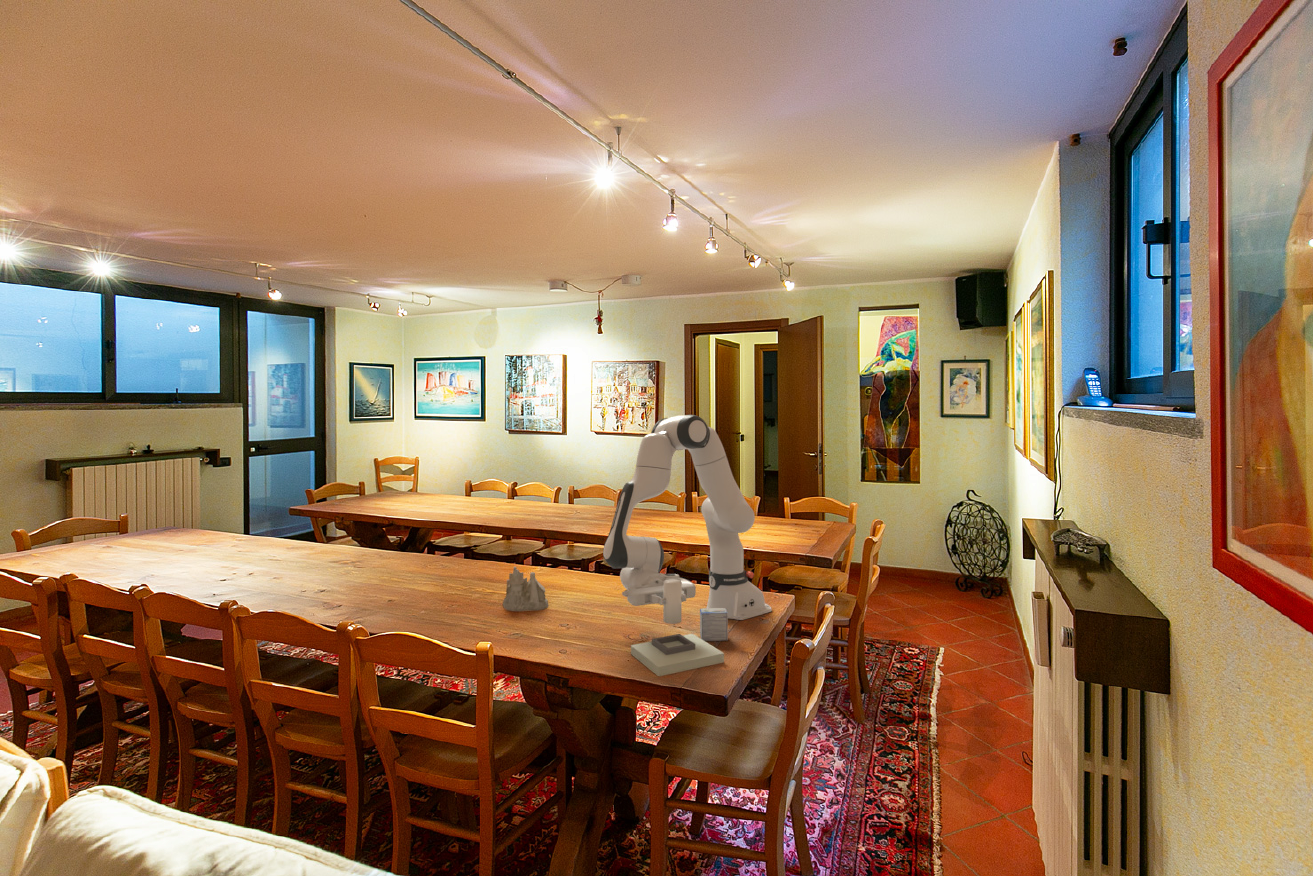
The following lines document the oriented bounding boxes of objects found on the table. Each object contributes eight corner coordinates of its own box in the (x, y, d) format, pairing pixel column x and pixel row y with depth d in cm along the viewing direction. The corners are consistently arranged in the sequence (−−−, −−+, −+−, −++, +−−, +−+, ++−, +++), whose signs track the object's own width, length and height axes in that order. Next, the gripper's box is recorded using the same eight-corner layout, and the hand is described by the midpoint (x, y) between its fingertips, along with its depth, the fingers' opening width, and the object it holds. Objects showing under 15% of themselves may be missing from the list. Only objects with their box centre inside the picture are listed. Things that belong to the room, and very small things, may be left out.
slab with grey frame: (692, 642, 190) (692, 628, 190) (724, 662, 175) (724, 647, 175) (630, 654, 181) (630, 640, 181) (658, 676, 166) (658, 661, 166)
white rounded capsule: (676, 616, 183) (676, 578, 182) (684, 622, 178) (684, 582, 178) (660, 619, 180) (660, 580, 180) (668, 624, 176) (668, 585, 175)
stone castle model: (545, 610, 220) (544, 566, 220) (497, 612, 219) (495, 568, 220) (553, 600, 235) (551, 558, 235) (508, 601, 235) (506, 560, 235)
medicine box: (725, 635, 195) (725, 607, 195) (728, 641, 191) (728, 612, 190) (699, 636, 195) (699, 608, 195) (701, 641, 191) (701, 612, 190)
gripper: (619, 581, 186) (640, 593, 173) (681, 573, 195) (705, 584, 183) (619, 603, 186) (640, 617, 174) (681, 593, 195) (705, 606, 183)
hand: (674, 600), depth 178 cm, fingers closed on white rounded capsule, 5 cm apart
